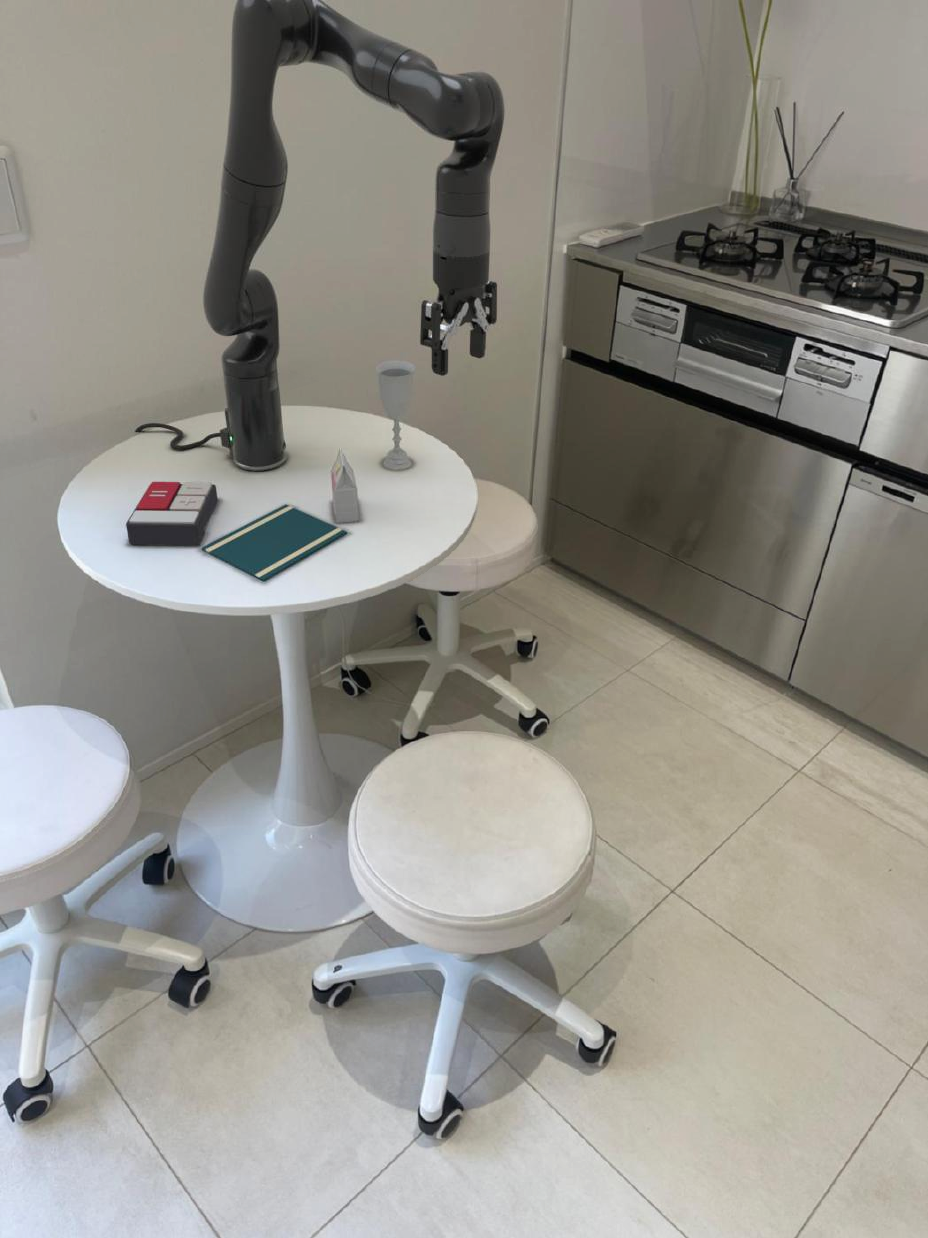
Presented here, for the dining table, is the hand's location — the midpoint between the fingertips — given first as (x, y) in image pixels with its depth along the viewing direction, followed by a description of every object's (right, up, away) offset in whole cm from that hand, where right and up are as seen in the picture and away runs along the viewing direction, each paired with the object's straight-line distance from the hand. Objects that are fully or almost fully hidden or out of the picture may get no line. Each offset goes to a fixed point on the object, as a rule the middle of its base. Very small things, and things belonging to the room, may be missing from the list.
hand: (458, 365), depth 135 cm
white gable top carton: (-19, -18, +24) cm, 36 cm away
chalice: (-11, -8, +39) cm, 41 cm away
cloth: (-29, -24, +16) cm, 41 cm away
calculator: (-46, -20, +20) cm, 55 cm away
